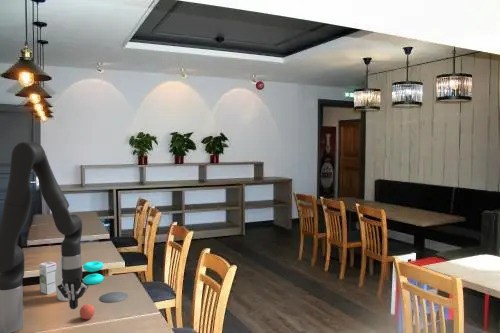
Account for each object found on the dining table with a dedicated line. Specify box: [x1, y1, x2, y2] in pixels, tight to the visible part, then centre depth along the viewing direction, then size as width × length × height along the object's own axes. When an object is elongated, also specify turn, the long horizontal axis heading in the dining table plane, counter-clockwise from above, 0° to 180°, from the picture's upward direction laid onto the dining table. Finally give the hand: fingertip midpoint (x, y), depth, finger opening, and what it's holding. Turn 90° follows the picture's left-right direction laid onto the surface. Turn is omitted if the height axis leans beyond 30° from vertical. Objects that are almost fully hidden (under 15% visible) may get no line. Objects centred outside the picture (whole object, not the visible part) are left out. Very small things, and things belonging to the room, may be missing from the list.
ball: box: [79, 303, 96, 320], centre depth 179 cm, size 6×6×6 cm
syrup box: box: [38, 260, 57, 295], centre depth 209 cm, size 6×6×14 cm
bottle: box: [55, 256, 69, 302], centre depth 201 cm, size 11×11×25 cm
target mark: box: [98, 291, 129, 304], centre depth 203 cm, size 13×13×1 cm
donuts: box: [82, 260, 104, 285], centre depth 224 cm, size 10×10×10 cm
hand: (73, 308), depth 170 cm, fingers closed
